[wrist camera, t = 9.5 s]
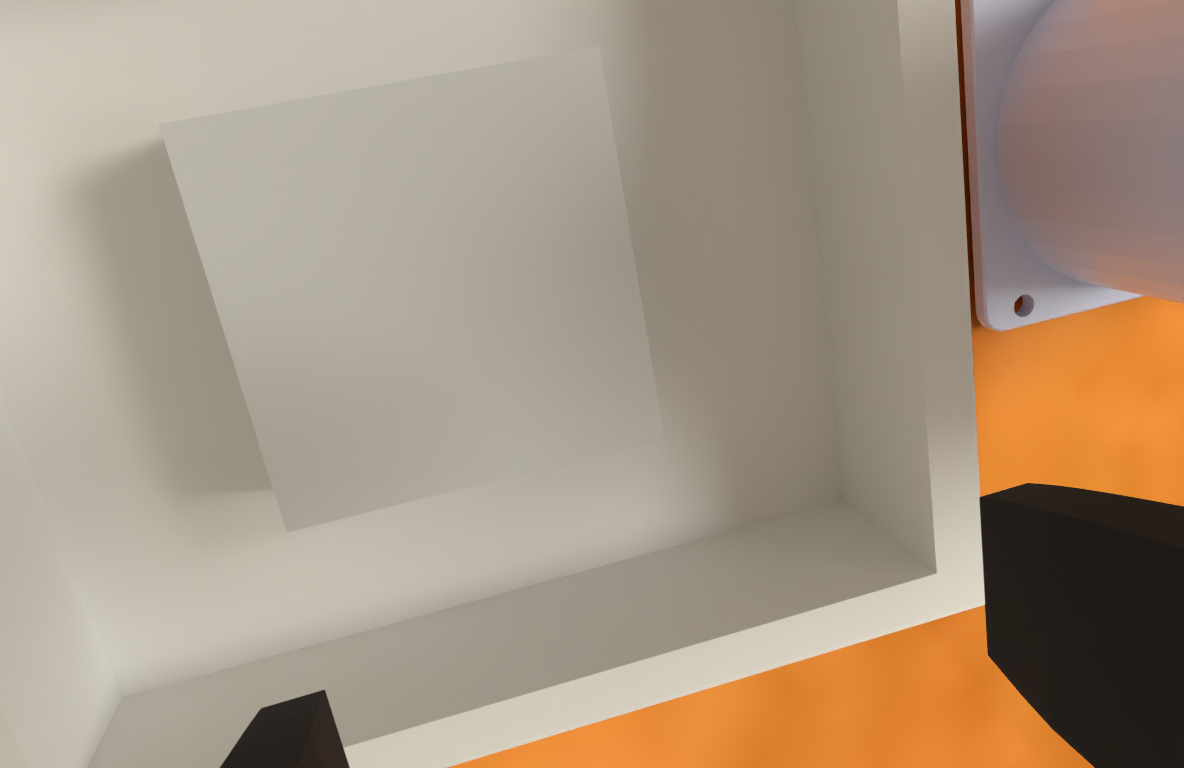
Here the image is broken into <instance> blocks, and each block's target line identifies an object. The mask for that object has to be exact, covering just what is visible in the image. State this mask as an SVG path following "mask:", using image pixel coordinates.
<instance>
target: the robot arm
mask: <svg viewBox="0 0 1184 768" xmlns="http://www.w3.org/2000/svg"><path fill="white" fill-rule="evenodd" d="M961 18H962V38H963V58H964V79H965V99H966V119H967V140H968V160H969V180H970V201H971V221H972V241H973V261H974V282H975V302H976V315H977V319H978V321H979V322H980V323H981V325H982V326H984V327H986V328H988V329H991V330H995V331H1006V330H1010V329H1014V328H1018V327H1022V326H1026V325H1030V324H1034V323H1038V322H1042V321H1046V320H1050V319H1054V318H1058V317H1062V316H1066V315H1070V314H1074V313H1078V312H1082V311H1087V310H1091V309H1095V308H1099V307H1103V306H1107V305H1111V304H1115V303H1119V302H1123V301H1127V300H1131V299H1135V298H1139V297H1143V296H1149V297H1154V298H1159V299H1164V300H1169V301H1174V302H1179V303H1184V0H961ZM1020 296H1022V299H1023V302H1022V307H1021V308H1020V309H1019V311H1018V312H1016V313H1015V311H1014V305H1015V302H1016V300H1017V299H1018V298H1019V297H1020ZM979 501H980V519H981V537H982V556H983V574H984V593H985V611H986V629H987V648H988V656H989V657H990V658H991V659H992V660H993V662H994V663H995V664H996V665H997V666H998V667H999V669H1000V670H1001V671H1002V672H1003V673H1004V675H1005V676H1006V677H1007V678H1008V679H1009V681H1010V682H1011V683H1012V684H1013V685H1014V687H1015V688H1016V689H1017V690H1018V691H1019V692H1020V694H1021V695H1022V696H1023V697H1024V698H1025V699H1026V700H1027V701H1028V703H1029V704H1030V705H1031V706H1032V707H1033V708H1034V709H1035V710H1036V711H1037V712H1038V714H1039V715H1040V716H1041V717H1042V718H1043V719H1044V720H1045V721H1046V722H1047V723H1048V725H1049V726H1050V727H1051V728H1052V729H1053V730H1054V731H1055V732H1056V733H1058V734H1059V735H1060V736H1061V737H1062V738H1063V739H1064V740H1065V741H1066V742H1067V743H1068V744H1069V745H1070V746H1072V747H1073V748H1074V749H1075V750H1076V751H1077V752H1078V753H1079V754H1080V755H1082V756H1083V757H1084V758H1085V759H1086V760H1087V761H1088V762H1089V763H1091V764H1092V765H1093V766H1094V767H1095V768H1184V507H1183V506H1177V505H1172V504H1166V503H1161V502H1155V501H1150V500H1144V499H1139V498H1133V497H1128V496H1122V495H1116V494H1111V493H1104V492H1098V491H1092V490H1086V489H1079V488H1072V487H1064V486H1055V485H1045V484H1032V483H1026V484H1023V485H1020V486H1016V487H1013V488H1009V489H1006V490H1003V491H999V492H996V493H992V494H989V495H986V496H982V497H979ZM220 768H350V767H349V764H348V761H347V758H346V755H345V751H344V748H343V745H342V742H341V739H340V736H339V732H338V729H337V726H336V723H335V720H334V717H333V714H332V710H331V707H330V704H329V701H328V698H327V695H326V691H325V690H321V691H318V692H315V693H311V694H308V695H304V696H301V697H298V698H294V699H291V700H287V701H284V702H280V703H277V704H274V705H270V706H267V707H263V708H261V709H260V710H259V712H258V713H257V714H256V716H255V717H254V718H253V720H252V721H251V722H250V724H249V725H248V727H247V728H246V730H245V731H244V733H243V734H242V736H241V737H240V738H239V740H238V741H237V743H236V744H235V746H234V747H233V749H232V750H231V752H230V753H229V755H228V756H227V758H226V759H225V761H224V762H223V764H222V765H221V766H220Z"/></svg>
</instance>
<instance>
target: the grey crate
mask: <svg viewBox="0 0 1184 768" xmlns="http://www.w3.org/2000/svg"><path fill="white" fill-rule="evenodd" d="M979 497H980V486H979V466H978V447H977V427H976V407H975V388H974V368H973V349H972V329H971V310H970V290H969V271H968V251H967V231H966V212H965V192H964V173H963V153H962V134H961V114H960V95H959V75H958V56H957V36H956V16H955V0H0V768H220V766H221V765H222V764H223V762H224V761H225V759H226V758H227V756H228V755H229V753H230V752H231V750H232V749H233V747H234V746H235V744H236V743H237V741H238V740H239V738H240V737H241V736H242V734H243V733H244V731H245V730H246V728H247V727H248V725H249V724H250V722H251V721H252V720H253V718H254V717H255V716H256V714H257V713H258V712H259V710H260V709H261V708H263V707H267V706H270V705H274V704H277V703H280V702H284V701H287V700H291V699H294V698H298V697H301V696H304V695H308V694H311V693H315V692H318V691H321V690H325V691H326V695H327V698H328V701H329V704H330V707H331V710H332V714H333V717H334V720H335V723H336V726H337V729H338V732H339V736H340V739H341V742H342V745H343V748H344V751H345V755H346V758H347V761H348V764H349V767H350V768H447V767H450V766H454V765H457V764H460V763H464V762H467V761H470V760H473V759H477V758H480V757H483V756H487V755H490V754H493V753H497V752H500V751H503V750H506V749H510V748H513V747H516V746H520V745H523V744H526V743H530V742H533V741H536V740H540V739H543V738H546V737H549V736H553V735H556V734H559V733H563V732H566V731H569V730H573V729H576V728H579V727H582V726H586V725H589V724H592V723H596V722H599V721H602V720H606V719H609V718H612V717H615V716H619V715H622V714H625V713H629V712H632V711H635V710H639V709H642V708H645V707H649V706H652V705H655V704H658V703H662V702H665V701H668V700H672V699H675V698H678V697H682V696H685V695H688V694H691V693H695V692H698V691H701V690H705V689H708V688H711V687H715V686H718V685H721V684H725V683H728V682H731V681H734V680H738V679H741V678H744V677H748V676H751V675H754V674H758V673H761V672H764V671H767V670H771V669H774V668H777V667H781V666H784V665H787V664H791V663H794V662H797V661H800V660H804V659H807V658H810V657H814V656H817V655H820V654H824V653H827V652H830V651H834V650H837V649H840V648H843V647H847V646H850V645H853V644H857V643H860V642H863V641H867V640H870V639H873V638H876V637H880V636H883V635H886V634H890V633H893V632H896V631H900V630H903V629H906V628H910V627H913V626H916V625H919V624H923V623H926V622H929V621H933V620H936V619H939V618H943V617H946V616H949V615H952V614H956V613H959V612H962V611H966V610H969V609H972V608H976V607H979V606H982V605H985V593H984V574H983V556H982V537H981V519H980V501H979Z"/></svg>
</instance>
